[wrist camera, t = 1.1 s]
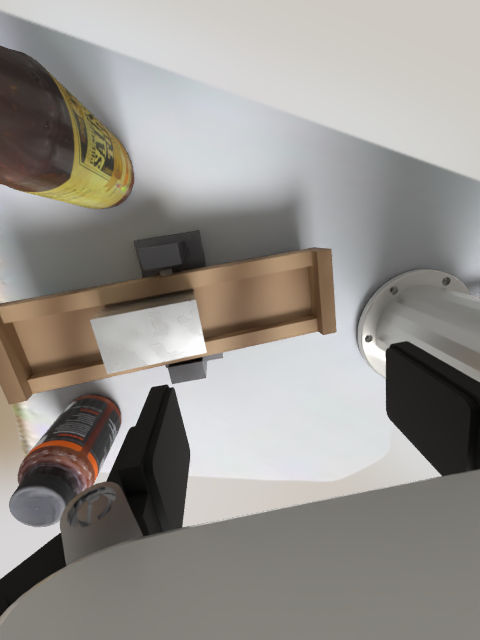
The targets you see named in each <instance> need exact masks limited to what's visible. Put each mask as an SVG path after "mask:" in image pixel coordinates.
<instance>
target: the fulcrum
mask: <svg viewBox="0 0 480 640" xmlns="http://www.w3.org/2000/svg"><path fill="white" fill-rule="evenodd" d="M134 243H135V247H136V251H137V255H138V259H139V263H140V267H141V271H142V275H143V278H146V277H152V276H157V275H160V273H159V271H160V270H164V269H172V273H174V272H180V271H185V270H191V269H196V268H202V267H206V265H205V260H204V254H203V249H202V244H201V238H200V233H199V230H198V231H192V232H186V233H180V234H174V235H168V236H162V237H156V238H149V239H143V240H137V241H134ZM219 358H223V355H222V353H217V354H213V355H208V356H204V357H199V358H194V359H190V360H185V361H181V362H176V363H172V364H167V365H166V368H168V370H169V374H170V378H171V382H172V384H175V383H180V382H186V381H191V380H197V379H203V378H206V370H207V361H208V360H214V359H219Z"/></svg>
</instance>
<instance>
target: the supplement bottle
mask: <svg viewBox="0 0 480 640" xmlns="http://www.w3.org/2000/svg"><path fill="white" fill-rule="evenodd" d="M120 426H121V414H120V411H119V409H118V408H117V406H116V405H115V404H114V403H113V402H111V401H110V400H109V399H107V398H105V397H102V396H98V395H85V396H82V397H79V398H77V399H75V400H74V401H73V402H71V403H70V405H68V406H67V408H66V409H65V410H64V411H63V412H62V414H61V415H60V416H59V417H58V418H57V420H56V421H55V422H54V423H53V425H52V426H51V427H50V428H49V430H48V431H47V432H46V433H45V434H44V436H43V437H42V438H41V439H40V440H39V442H38V443H37V444H36V445H35V447H34V448H33V449H32V450H31V451H30V453H29V454H28V455H27V456H26V458H25V459H24V460H23V462H22V464H21V466H20V468H19V472H18V483H19V486H18V488H17V490H16V491H15V492H14V494H13V495H12V497H11V499H10V502H9V508H10V512H11V513H12V515H13V516H14V517H15V518H16V519H17V520H18V521H20V522H22V523H23V524H26V525H29V526H33V527H45V526H50V525H53V524H55V523H57V522H58V521H60V518H61V515H62V513H63V511H64V509H65V508H66V506H67V505H68V504H69V503H70V501H71V500H72V499H73V498H75V497H76V496H77V495H78V494H79V493H81V492H82V491H84V490H85V489H87V488H89V487H91V486H93V484H94V482H95V480H96V477H97V476H98V473H99V472H100V469H101V467H102V465H103V463H104V461H105V459H106V457H107V454H108V452H109V450H110V448H111V446H112V444H113V442H114V440H115V437H116V435H117V433H118V431H119V428H120Z"/></svg>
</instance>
